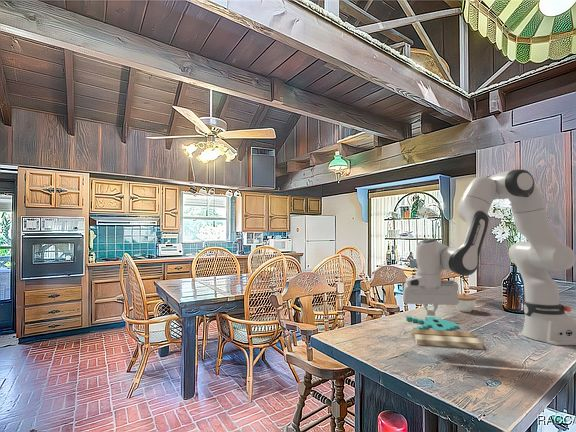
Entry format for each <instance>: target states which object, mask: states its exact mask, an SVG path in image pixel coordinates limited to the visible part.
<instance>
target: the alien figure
mask: <svg viewBox="0 0 576 432" xmlns="http://www.w3.org/2000/svg"><path fill="white" fill-rule="evenodd" d="M405 318H406V321H407V322H412V323H417V325H418V326H417V327H412V329H423V330H429V328H432V330H441V331H456V330H457V329H460V328H459V325H458V324H457V323H456V322H455V321H448V320H447V319H442V318H438V317H437V318H436V317H435V316H425V317H424V319H421V318H417V317H412V316H408V315H407V316H405Z"/></svg>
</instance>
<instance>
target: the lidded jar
mask: <svg viewBox="0 0 576 432" xmlns="http://www.w3.org/2000/svg"><path fill="white" fill-rule="evenodd" d="M458 298H459V303H458V304H457V305H454V306H455V307H456V309H457V310H458V311H459V312H462V313H464V312H465V313H471V312H472V311H473V310H474V309H475V308H476V302H477V297H476V296H475V295H471V294H466V293H465V292H463V293H462V294H461V293H458Z"/></svg>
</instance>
